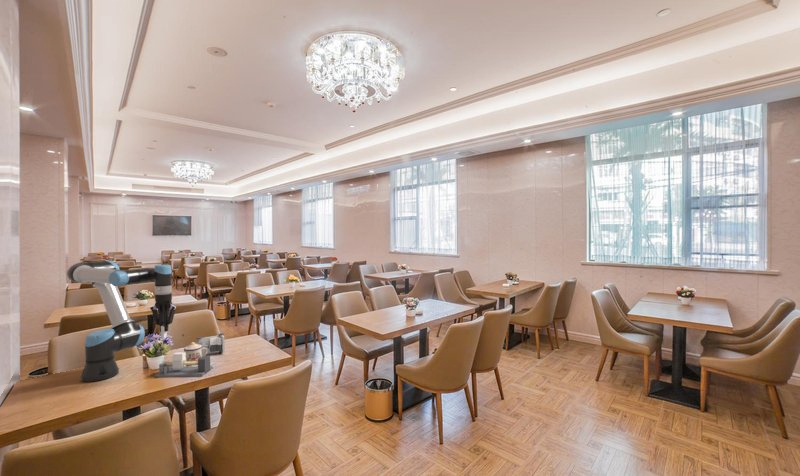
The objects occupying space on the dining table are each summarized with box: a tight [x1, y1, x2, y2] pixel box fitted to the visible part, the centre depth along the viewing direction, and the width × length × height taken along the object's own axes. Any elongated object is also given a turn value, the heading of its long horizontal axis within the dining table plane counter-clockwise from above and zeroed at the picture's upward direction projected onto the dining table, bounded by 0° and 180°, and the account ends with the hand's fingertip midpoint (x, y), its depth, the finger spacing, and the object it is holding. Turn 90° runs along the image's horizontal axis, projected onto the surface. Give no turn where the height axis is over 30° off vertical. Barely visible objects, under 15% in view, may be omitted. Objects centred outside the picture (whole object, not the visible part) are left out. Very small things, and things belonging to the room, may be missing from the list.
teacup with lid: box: [183, 341, 208, 362], centre depth 205 cm, size 12×9×12 cm
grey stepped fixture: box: [155, 355, 214, 378], centre depth 189 cm, size 24×11×8 cm, turn 92°
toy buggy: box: [195, 332, 226, 355], centre depth 215 cm, size 18×10×12 cm, turn 129°
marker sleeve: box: [171, 351, 187, 369], centre depth 189 cm, size 5×4×8 cm
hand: (164, 337), depth 189 cm, fingers closed
